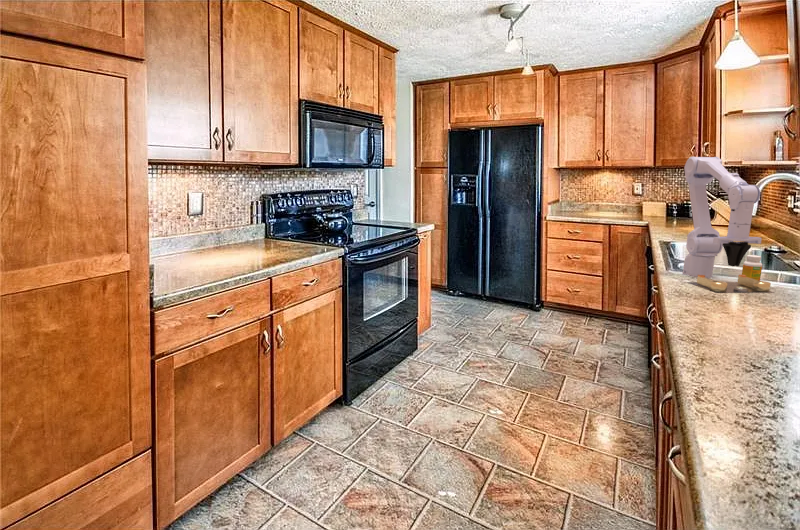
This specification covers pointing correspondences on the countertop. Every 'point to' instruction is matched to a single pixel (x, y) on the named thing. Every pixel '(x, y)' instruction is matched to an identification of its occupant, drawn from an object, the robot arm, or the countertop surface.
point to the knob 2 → (754, 283)
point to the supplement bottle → (752, 267)
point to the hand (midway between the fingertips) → (733, 265)
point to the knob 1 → (712, 284)
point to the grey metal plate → (732, 288)
